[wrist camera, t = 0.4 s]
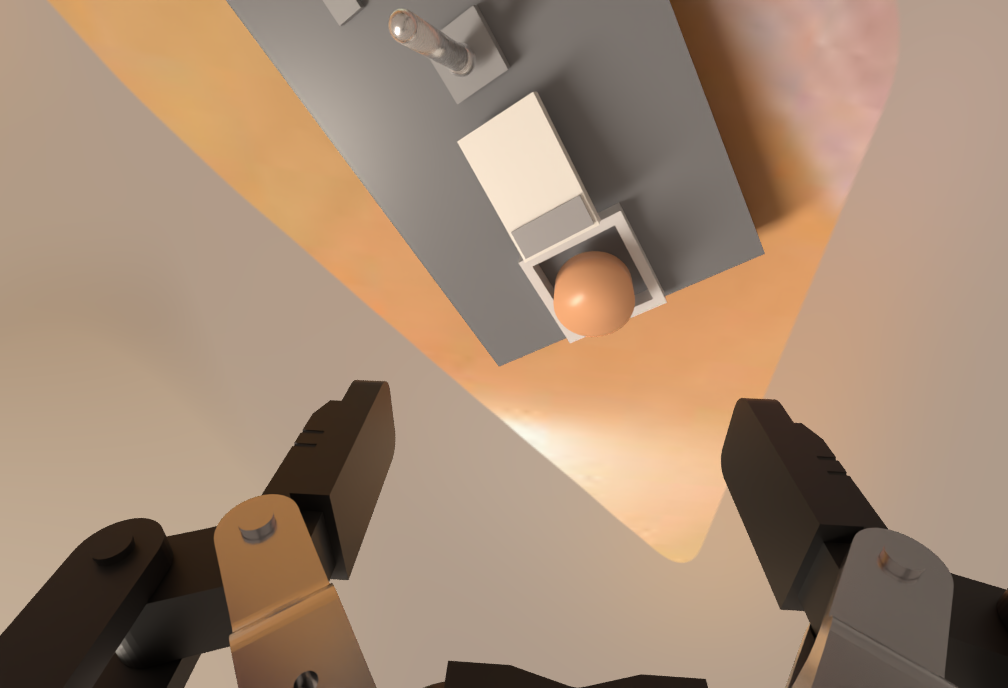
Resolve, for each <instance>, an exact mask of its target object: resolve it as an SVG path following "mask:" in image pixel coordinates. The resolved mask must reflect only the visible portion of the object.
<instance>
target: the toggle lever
mask: <svg viewBox="0 0 1008 688" xmlns="http://www.w3.org/2000/svg"><path fill="white" fill-rule="evenodd" d="M388 28H389V32H390V34H391V36H392V37H393V38H394V40H396V41H397V42H399V43H401V44H402V45H404V46H406V47H408V48H410V49H412V50H414V51H416V52H418V53H420V54H422V55H424V56H426V57H428V58H430V59H431V60H433V61H435V62H437V63H439V64H441V65H443V66H445V67H447V68H448V70H449V71H450V72H451V73H452V74H453V75H455V76H457V77H466V76H468V75H469V74H471V73H472V71H473V70H474V68H475V65H476V56H475V53H474V51H473V49H472V48H471V47H470V46H469V45H468V44H466V43H462V42H457V41H455V40H454V39H452V38H450V37H449V36H447V35H446V34H444V33H443V32H441V31H440V30H438V29H437V28H435V27H434V26H432V25H431V24H429V23H428V22H426V21H425V20H423V19H422V18H420V17H419V16H417V15H416V14H414V13H413V12H411V11H410V10H407V9H404V8H401V9H397V10H395V11H394V12H393V13H392V14H391V15H390V17H389V21H388Z"/></svg>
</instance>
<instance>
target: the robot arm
mask: <svg viewBox="0 0 1008 688" xmlns="http://www.w3.org/2000/svg"><path fill="white" fill-rule="evenodd" d="M394 449H395V428H394V420H393V412H392V405H391V395H390V388H389V385H388V383H387V382H385V381H364V380H363V381H362V380H354V381H353V382H352V384H351V386H350V387H349V389H348V391H347V393H346V394H345V396H344V398H343V399H342V401H331V400H330V401H329V402H328V403H326V404H325V405H324V406H322V407H321V408H320V409H318V410H317V411H316V412H315V413H313V414H312V416H311V417H310V419H309V421H308V422H307V424H306V425H305V427H304V429H303V433H300V435H299V436H298V438H297V440H296V441H295V445H294V446H292V448H291V449H290V451H289V452H288V454H287V456H286V457H285V459H284V460H283V462H282V464H281V465H280V467H279V468H278V470H277V472H276V473H275V475H274V476H273V478H272V480H271V481H270V483H269V484H268V486H267V487H266V489H265V491H264V492H263V494H262V495H261V496H257V497H254V498H251V499H248V500H247V501H244V502H242V503H240V504H239V505H237V506H236V507H234V508H233V509H231V510H230V511H229V512H228V513H227V514H226V515H225V516H224V517H223V518H222V519H221V521H220V522H219V524H218V525H217V526H215V527H212V528H208V529H202V530H197V531H193V532H187V533H183V534H178V535H172V536H168V537H166V535H165V533H164V531H163V529H162V527H161V525H160V524H159V523H158V522H156V521H154V520H151V519H146V518H134V519H129V520H124V521H121V522H117V523H115V524H112V525H109V526H107V527H105V528H103V529H101V530H99V531H98V532H96V533H94V534H93V535H91V536H90V537H88V538H87V539H86V540H84V541H83V542H82V543H81V544H80V545H79V546H78V547H77V548H76V549H75V550H74V551H73V552H72V553H71V554H70V556H69V557H68V558H67V559H66V560H65V561H64V562H63V564H62V565H61V566H60V567H59V568H58V569H57V571H56V572H55V573H54V574H53V575H52V576H51V578H50V579H49V580H48V581H47V582H46V583H45V584H44V586H43V587H42V588H41V589H40V590H39V591H38V593H37V594H36V595H35V596H34V597H33V598H32V599H31V601H30V602H29V603H28V604H27V605H26V606H25V608H24V609H23V610H22V611H21V612H20V613H19V615H18V616H17V617H16V618H15V619H14V621H13V622H12V623H11V624H10V625H9V626H8V627H7V629H6V630H5V631H4V632H3V633H2V634H1V635H0V688H184V687H185V685H186V682H187V681H188V679H189V677H190V675H191V673H192V671H193V669H194V667H195V665H196V663H197V661H198V659H199V657H200V655H201V654H202V653H206V652H209V651H213V650H217V649H221V648H225V647H229V646H230V648H231V653H232V658H233V663H234V669H235V674H236V678H237V684H238V688H376V685H375V683H374V681H373V678H372V676H371V673H370V671H369V668H368V666H367V663H366V661H365V659H364V656H363V654H362V652H361V649H360V647H359V644H358V642H357V639H356V637H355V635H354V632H353V630H352V627H351V625H350V623H349V620H348V618H347V615H346V613H345V610H344V608H343V606H342V603H341V601H340V598H339V596H338V594H337V591H336V590H335V587H334V585H333V584H332V583H331V584H330V583H329V581H330V579H339V580H349V577H350V574H351V572H352V569H353V566H354V563H355V561H356V558H357V555H358V552H359V550H360V547H361V544H362V541H363V539H364V536H365V533H366V530H367V528H368V525H369V522H370V519H371V517H372V514H373V511H374V508H375V505H376V503H377V500H378V497H379V495H380V492H381V489H382V486H383V484H384V481H385V478H386V475H387V473H388V470H389V467H390V464H391V462H392V459H393V455H394ZM721 467H722V473H723V477H724V479H725V482H726V484H727V486H728V489H729V491H730V493H731V496H732V498H733V500H734V503H735V505H736V507H737V510H738V512H739V514H740V517H741V519H742V521H743V523H744V526H745V528H746V530H747V533H748V535H749V537H750V540H751V542H752V544H753V547H754V549H755V551H756V554H757V556H758V558H759V561H760V563H761V565H762V568H763V570H764V572H765V575H766V577H767V579H768V582H769V584H770V586H771V589H772V591H773V593H774V596H775V598H776V600H777V602H778V605H779V607H780V609H781V610H797V611H805V613H806V615H807V617H808V619H809V622H810V623H809V625H808V627H807V629H806V631H805V633H804V636H803V639H802V642H801V644H800V647H799V650H798V653H797V656H796V658H795V661H794V664H793V667H792V670H791V673H790V675H789V678H788V681H787V684H786V687H785V688H1008V588H1007V590H1006V589H1002V588H999V587H995V586H992V585H988V584H985V583H982V582H979V581H975V580H972V579H969V578H965V577H962V576H958V575H955V574H952V573H950V572H949V570H948V568H947V567H946V565H945V564H944V563H943V562H942V561H941V560H940V558H939V557H938V556H937V555H935V554H934V553H933V552H932V551H931V550H929V549H928V548H927V547H925V546H924V545H923V544H921V543H919V542H918V541H916V540H914V539H912V538H910V537H908V536H906V535H904V534H901V533H899V532H895V531H892V530H888V528H887V527H886V525H885V524H884V523H883V521H882V520H881V519H880V517H879V516H878V514H877V513H876V512H875V510H874V509H873V508H872V506H871V505H870V503H869V502H868V501H867V499H866V498H865V497H864V495H863V494H862V493H861V491H860V490H859V488H858V487H857V486H856V484H855V483H854V482H853V480H852V479H851V477H850V476H847V475H846V471H845V469H844V468H843V466H842V465H841V464H840V462H839V461H836V457H835V455H834V454H833V453H832V451H831V450H830V449H829V447H828V446H827V444H826V443H825V442H824V440H823V439H822V438H820V437H819V436H818V435H817V434H815V433H814V432H813V431H811V430H810V429H808V428H807V427H806V426H805V425H803V424H802V423H794V422H793V421H792V420H791V418H790V417H789V415H788V414H787V412H786V411H785V409H784V408H783V406H782V405H781V404H780V402H778V401H777V400H771V399H749V398H741V399H739V400H738V401H737V403H736V405H735V408H734V411H733V414H732V418H731V421H730V425H729V428H728V432H727V435H726V438H725V442H724V445H723V449H722V454H721ZM425 688H575V687H571V686H567V685H565V684H562V683H559V682H556V681H553V680H550V679H547V678H545V677H542V676H539V675H536V674H534V673H531V672H528V671H525V670H522V669H519V668H517V667H514V666H511V665H500V664H486V663H472V662H458V661H448V666H447V672H446V678H445V682H440V683H436V684H432V685H430V686H427V687H425ZM581 688H708V686H707V682H706V679H696V678H684V677H670V676H655V675H637V676H632V677H628V678H623V679H619V680H614V681H609V682H605V683H600V684H596V685H592V686H587V687H581Z"/></svg>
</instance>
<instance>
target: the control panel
mask: <svg viewBox="0 0 1008 688" xmlns="http://www.w3.org/2000/svg"><path fill="white" fill-rule="evenodd" d="M226 1H227V2H228V4H229V5H230V6H231V8H232V9H233V10H234V12H235V13H236V14H237V16H238V17H239V18H240V20H241V21H242V22H243V24H244V25H245V27H246V28H247V29H248V31H249V32H250V33H251V35H252V36H253V37H254V39H255V40H256V41H257V43H258V44H259V45H260V47H261V48H262V49H263V51H264V52H265V53H266V55H267V56H268V57H269V59H270V60H271V61H272V63H273V64H274V65H275V67H276V68H277V69H278V71H279V72H280V73H281V75H282V76H283V77H284V79H285V80H286V82H287V83H288V84H289V86H290V87H291V88H292V90H293V91H294V92H295V94H296V95H297V96H298V98H299V99H300V100H301V102H302V103H303V104H304V106H305V107H306V108H307V110H308V111H309V112H310V114H311V115H312V116H313V118H314V119H315V120H316V122H317V123H318V124H319V126H320V127H321V128H322V130H323V131H324V132H325V134H326V135H327V137H328V138H329V139H330V141H331V142H332V143H333V145H334V146H335V147H336V149H337V150H338V151H339V153H340V154H341V155H342V157H343V158H344V159H345V161H346V162H347V163H348V165H349V166H350V167H351V169H352V170H353V171H354V173H355V174H356V175H357V177H358V178H359V179H360V181H361V182H362V183H363V185H364V186H365V187H366V189H367V190H368V192H369V193H370V194H371V196H372V197H373V198H374V200H375V201H376V202H377V204H378V205H379V206H380V208H381V209H382V210H383V212H384V213H385V214H386V216H387V217H388V218H389V220H390V221H391V222H392V224H393V225H394V226H395V228H396V229H397V230H398V232H399V233H400V234H401V236H402V237H403V238H404V240H405V241H406V242H407V244H408V245H409V246H410V248H411V249H412V251H413V252H414V253H415V255H416V256H417V257H418V259H419V260H420V261H421V263H422V264H423V265H424V267H425V268H426V269H427V271H428V272H429V273H430V275H431V276H432V277H433V279H434V280H435V281H436V283H437V284H438V285H439V287H440V288H441V289H442V291H443V292H444V293H445V295H446V296H447V297H448V299H449V300H450V301H451V303H452V304H453V306H454V307H455V308H456V310H457V311H458V312H459V314H460V315H461V316H462V318H463V319H464V320H465V322H466V323H467V324H468V326H469V327H470V328H471V330H472V331H473V332H474V334H475V335H476V336H477V338H478V339H479V340H480V342H481V343H482V344H483V346H484V347H485V348H486V350H487V351H488V352H489V354H490V355H491V356H492V358H493V359H494V361H495V362H496V363H497V365H498V366H501V365H504V364H506V363H509V362H511V361H513V360H516V359H518V358H520V357H523V356H525V355H527V354H530V353H532V352H534V351H537V350H539V349H542V348H544V347H546V346H549V345H551V344H553V343H556V342H558V341H560V340H563V339H565V338H567V339H568V341H569V343H572V342H574V341H577V340H579V339H581V338H584V337H586V336H582V335H578V334H576V333H573V332H571V331H570V330H568V329H567V328H566V327H564V326H563V325H562V324H561V322H560V321H559V320H558V318H557V316H556V314H555V311H554V305H553V301H554V290H555V280H556V276H557V274H558V272H559V270H560V268H561V267H562V266H563V264H564V263H565V262H566V261H568V260H569V259H570V258H572V257H574V256H575V255H578V254H580V253H584V252H589V251H601V252H606V253H609V254H612V255H614V256H616V257H617V258H619V259H620V260H621V261H622V262H623V263H624V264H625V265H626V266H627V268H628V270H629V272H630V274H631V278H632V283H633V289H634V295H635V306H634V311H633V313H632V315H631V317H634V316H636V315H639V314H641V313H643V312H646V311H648V310H651V309H653V308H655V307H658V306H660V305H663V304H665V303H667V301H666V297H665V296H666V295H669V294H671V293H673V292H676V291H678V290H681V289H683V288H685V287H688V286H690V285H692V284H695V283H697V282H699V281H702V280H704V279H706V278H709V277H711V276H713V275H716V274H718V273H721V272H723V271H725V270H728V269H730V268H732V267H735V266H737V265H739V264H742V263H744V262H746V261H749V260H751V259H754V258H756V257H758V256H761V255H763V254H765V253H764V250H763V247H762V245H761V242H760V240H759V237H758V234H757V232H756V229H755V226H754V224H753V221H752V218H751V216H750V213H749V210H748V208H747V205H746V202H745V200H744V197H743V194H742V192H741V189H740V186H739V184H738V181H737V178H736V176H735V173H734V171H733V168H732V165H731V163H730V160H729V157H728V155H727V152H726V149H725V147H724V144H723V141H722V139H721V136H720V133H719V131H718V128H717V125H716V123H715V120H714V117H713V115H712V112H711V109H710V107H709V104H708V102H707V99H706V96H705V94H704V91H703V88H702V86H701V83H700V80H699V78H698V75H697V72H696V70H695V67H694V64H693V62H692V59H691V56H690V54H689V51H688V48H687V46H686V43H685V41H684V38H683V35H682V33H681V30H680V27H679V25H678V22H677V19H676V17H675V14H674V11H673V9H672V6H671V3H670V1H669V0H226ZM401 8H404V9H407V10H410V11H411V12H413V13H414V14H416V15H417V16H419V17H420V18H422V19H423V20H425V21H426V22H428V23H429V24H431V25H432V26H434V27H435V28H437V29H438V30H440V31H441V32H443V33H444V34H446V35H447V36H449V37H450V38H452V39H454V40H455V41H457V42H462V43H466V44H468V45H469V46H470V47H471V48H472V49H473V51H474V53H475V56H476V65H475V68H474V70H473V71H472V73H471V74H469V75H468V76H466V77H457V76H455V75H453V74H452V73H451V72H450V71H449V70H448V68H447V67H445V66H443V65H441V64H439V63H437V62H435V61H433V60H431V59H430V58H428V57H426V56H424V55H422V54H420V53H418V52H416V51H414V50H412V49H410V48H408V47H406V46H404V45H402V44H401V43H399V42H397V41H396V40H394V38H393V37H392V36H391V34H390V32H389V28H388V21H389V17H390V15H391V14H392V13H393V12H394V11H395V10H397V9H401ZM532 92H538V94H539V96H540V98H541V100H542V102H543V104H544V106H545V108H546V110H547V112H548V114H549V116H550V119H551V121H552V123H553V125H554V127H555V129H556V131H557V133H558V135H559V137H560V139H561V141H562V143H563V145H564V147H565V149H566V151H567V153H568V155H569V157H570V159H571V161H572V163H573V165H574V167H575V169H576V171H577V173H578V175H579V177H580V179H581V181H582V183H583V185H584V187H585V189H586V191H587V193H588V195H589V197H590V199H591V201H592V203H593V205H594V207H595V209H596V211H597V213H598V215H599V217H600V219H601V221H600V225H599V226H597V227H595V228H593V229H591V230H589V231H587V232H585V233H583V234H581V235H579V236H577V237H575V238H573V239H571V240H569V241H567V242H565V243H563V244H561V245H559V246H557V247H555V248H553V249H551V250H549V251H547V252H545V253H543V254H541V255H539V256H537V257H536V258H534V259H532V260H530V261H528V262H526V263H525V262H524V260H523V258H522V257H521V255H520V253H519V251H518V250H517V248H516V246H515V244H514V242H513V241H512V239H511V237H510V235H509V233H508V232H507V230H506V228H505V226H504V225H503V223H502V221H501V219H500V217H499V216H498V214H497V212H496V210H495V208H494V207H493V205H492V203H491V201H490V200H489V198H488V196H487V194H486V192H485V191H484V189H483V187H482V185H481V184H480V182H479V180H478V178H477V176H476V175H475V173H474V171H473V169H472V167H471V166H470V164H469V162H468V160H467V159H466V157H465V155H464V153H463V151H462V150H461V148H460V146H459V144H458V143H457V141H459V140H460V139H462V138H463V137H465V136H466V135H468V134H469V133H471V132H472V131H474V130H476V129H477V128H479V127H480V126H482V125H483V124H485V123H486V122H488V121H489V120H491V119H492V118H494V117H495V116H497V115H498V114H500V113H501V112H503V111H504V110H506V109H507V108H509V107H511V106H512V105H514V104H515V103H517V102H518V101H520V100H521V99H523V98H524V97H526V96H527V95H529V94H530V93H532ZM631 317H630V318H631Z"/></svg>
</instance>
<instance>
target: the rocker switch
mask: <svg viewBox="0 0 1008 688" xmlns="http://www.w3.org/2000/svg"><path fill="white" fill-rule="evenodd" d="M457 143H458V144H459V146H460V148H461V150H462V151H463V153H464V155H465V157H466V159H467V160H468V162H469V164H470V166H471V167H472V169H473V171H474V173H475V175H476V176H477V178H478V180H479V182H480V184H481V185H482V187H483V189H484V191H485V192H486V194H487V196H488V198H489V200H490V201H491V203H492V205H493V207H494V208H495V210H496V212H497V214H498V216H499V217H500V219H501V221H502V223H503V225H504V226H505V228H506V230H507V232H508V233H509V235H510V237H511V239H512V241H513V242H514V244H515V246H516V248H517V250H518V251H519V253H520V255H521V257H522V258H523V260H524V262H525V263H526V262H528V261H530V260H532V259H534V258H536V257H537V256H539V255H541V254H543V253H545V252H547V251H549V250H551V249H553V248H555V247H557V246H559V245H561V244H563V243H565V242H567V241H569V240H571V239H573V238H575V237H577V236H579V235H581V234H583V233H585V232H587V231H589V230H591V229H593V228H595V227H597V226H599V225H600V221H601V219H600V217H599V215H598V213H597V211H596V209H595V207H594V205H593V203H592V201H591V199H590V197H589V195H588V193H587V191H586V189H585V187H584V185H583V183H582V181H581V179H580V177H579V175H578V173H577V171H576V169H575V167H574V165H573V163H572V161H571V159H570V157H569V155H568V153H567V151H566V149H565V147H564V145H563V143H562V141H561V139H560V137H559V135H558V133H557V131H556V129H555V127H554V125H553V123H552V121H551V119H550V116H549V114H548V112H547V110H546V108H545V106H544V104H543V102H542V100H541V98H540V96H539V94H538V92H532V93H530V94H529V95H527V96H526V97H524V98H523V99H521V100H520V101H518V102H517V103H515V104H514V105H512V106H511V107H509V108H507V109H506V110H504V111H503V112H501V113H500V114H498V115H497V116H495V117H494V118H492V119H491V120H489V121H488V122H486V123H485V124H483V125H482V126H480V127H479V128H477V129H476V130H474V131H472V132H471V133H469V134H468V135H466V136H465V137H463V138H462V139H460V140H459V141H457Z"/></svg>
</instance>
